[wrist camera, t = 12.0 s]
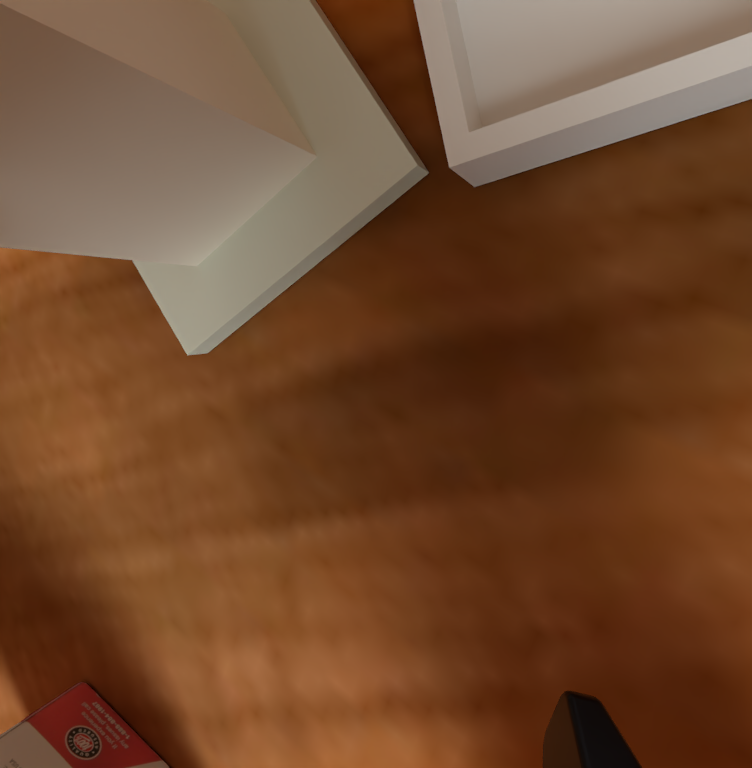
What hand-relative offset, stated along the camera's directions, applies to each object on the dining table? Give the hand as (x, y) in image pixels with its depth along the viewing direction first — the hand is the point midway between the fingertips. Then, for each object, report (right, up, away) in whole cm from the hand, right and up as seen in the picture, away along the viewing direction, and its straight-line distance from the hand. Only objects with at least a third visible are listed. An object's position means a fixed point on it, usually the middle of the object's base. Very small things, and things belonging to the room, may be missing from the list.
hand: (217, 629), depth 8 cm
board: (-2, +10, +11) cm, 15 cm away
